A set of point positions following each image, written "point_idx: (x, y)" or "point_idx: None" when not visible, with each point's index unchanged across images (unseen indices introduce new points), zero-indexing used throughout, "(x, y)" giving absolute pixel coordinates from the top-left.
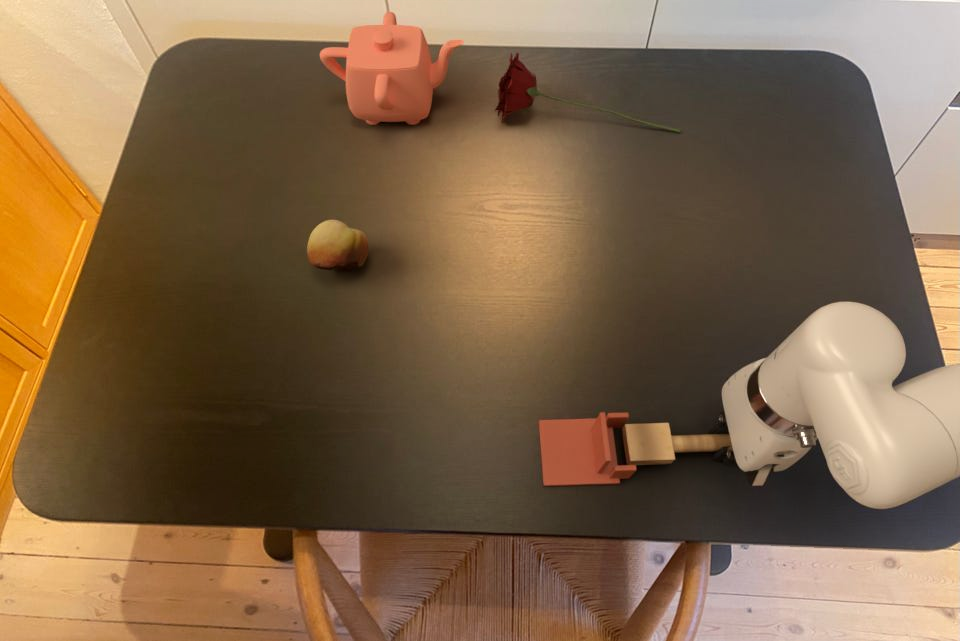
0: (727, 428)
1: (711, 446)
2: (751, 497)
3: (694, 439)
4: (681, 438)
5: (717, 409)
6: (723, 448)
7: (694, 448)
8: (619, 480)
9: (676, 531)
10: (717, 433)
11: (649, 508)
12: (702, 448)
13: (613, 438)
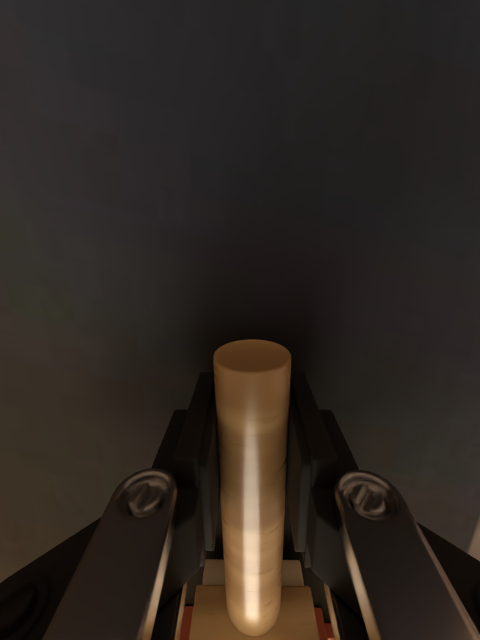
0: (207, 527)
1: (275, 530)
2: (425, 340)
3: (247, 581)
4: (242, 611)
5: (120, 386)
6: (308, 565)
7: (277, 569)
8: (328, 637)
9: (468, 539)
10: (219, 487)
11: None
12: (278, 548)
13: None
